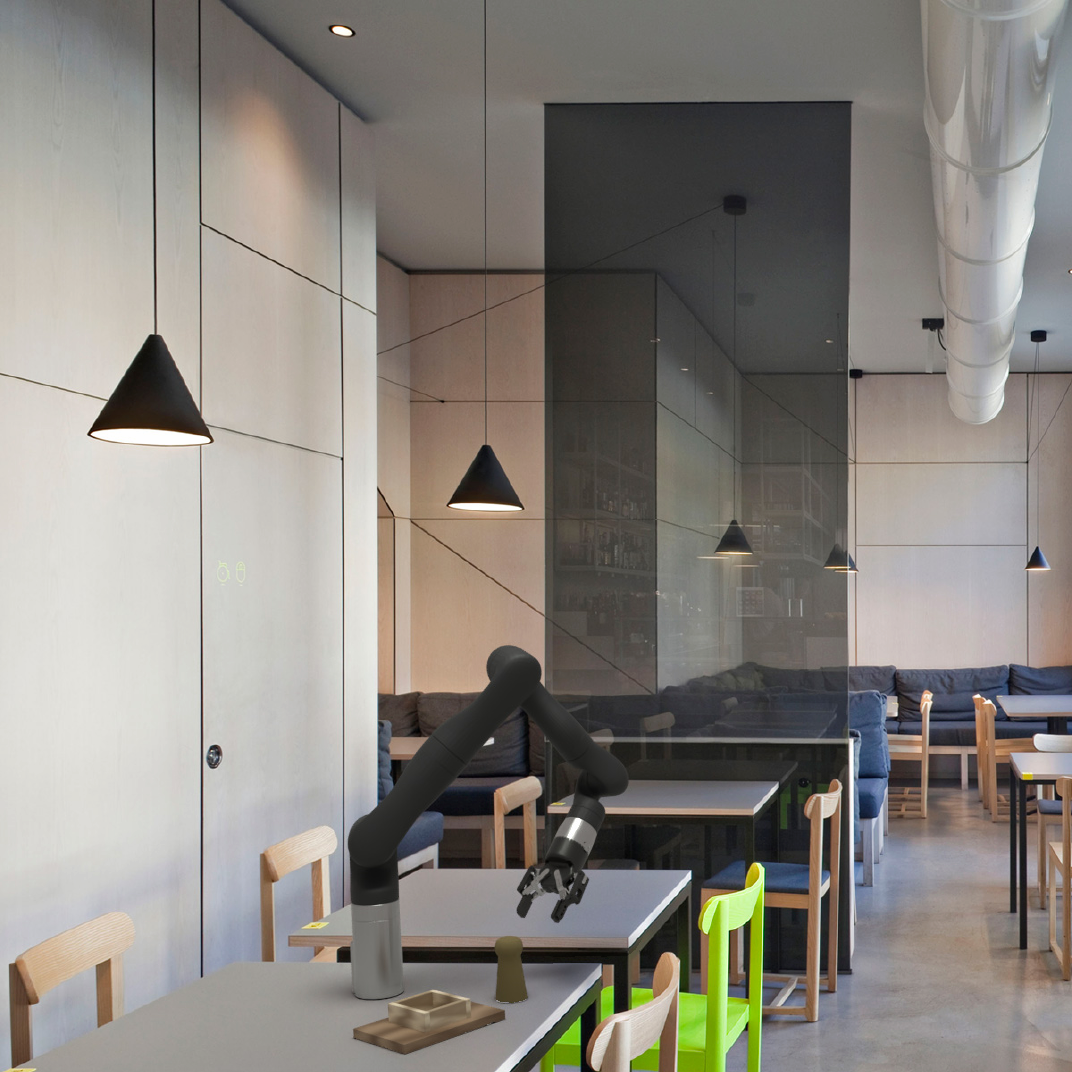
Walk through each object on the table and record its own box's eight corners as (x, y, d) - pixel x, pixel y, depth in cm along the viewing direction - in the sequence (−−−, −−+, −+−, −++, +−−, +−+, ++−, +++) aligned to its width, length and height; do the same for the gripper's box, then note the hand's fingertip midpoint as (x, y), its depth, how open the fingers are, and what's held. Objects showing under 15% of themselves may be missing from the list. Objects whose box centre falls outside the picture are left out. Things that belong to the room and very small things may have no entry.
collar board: (353, 1037, 207) (352, 1010, 207) (452, 1005, 222) (451, 979, 222) (404, 1054, 197) (403, 1025, 197) (505, 1019, 212) (503, 992, 212)
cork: (524, 1003, 221) (520, 941, 221) (491, 1003, 222) (488, 941, 223) (531, 993, 226) (527, 932, 227) (499, 993, 228) (496, 933, 229)
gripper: (534, 832, 244) (499, 903, 234) (590, 837, 235) (556, 910, 225) (553, 855, 248) (518, 925, 238) (609, 860, 238) (576, 933, 229)
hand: (537, 918), depth 232 cm, fingers open, 8 cm apart
